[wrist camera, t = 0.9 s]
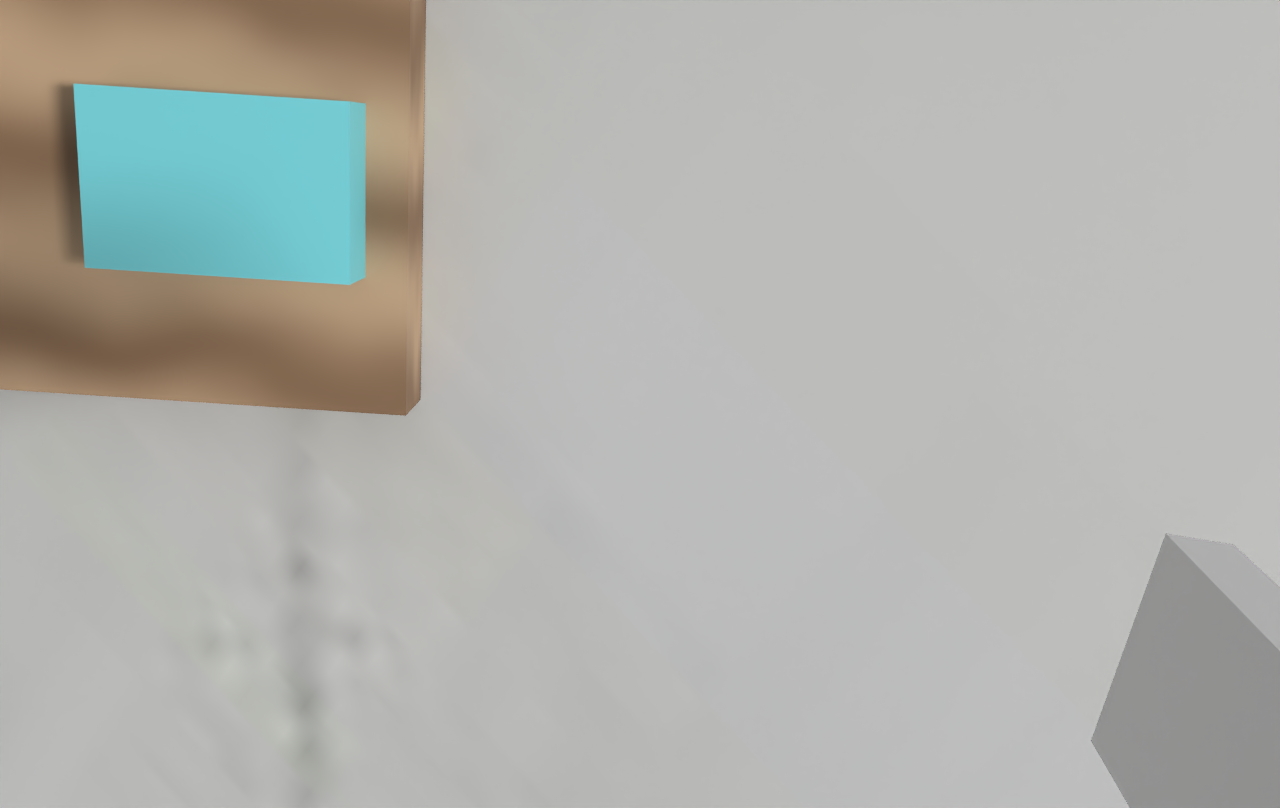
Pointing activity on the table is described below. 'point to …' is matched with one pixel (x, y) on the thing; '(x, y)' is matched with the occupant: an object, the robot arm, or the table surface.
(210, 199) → the turquoise flat block
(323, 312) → the wooden board
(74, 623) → the table surface
